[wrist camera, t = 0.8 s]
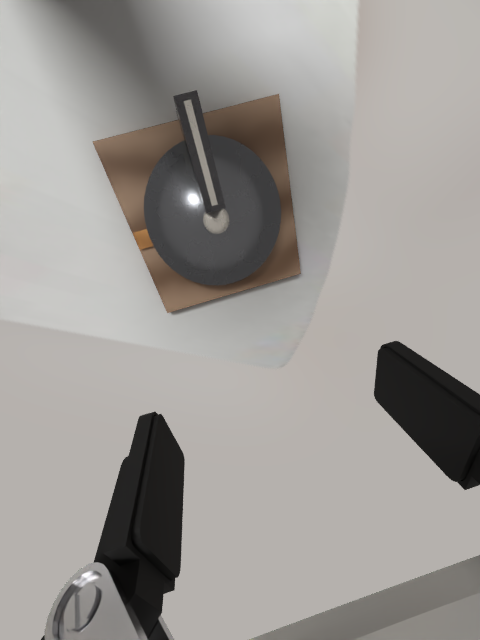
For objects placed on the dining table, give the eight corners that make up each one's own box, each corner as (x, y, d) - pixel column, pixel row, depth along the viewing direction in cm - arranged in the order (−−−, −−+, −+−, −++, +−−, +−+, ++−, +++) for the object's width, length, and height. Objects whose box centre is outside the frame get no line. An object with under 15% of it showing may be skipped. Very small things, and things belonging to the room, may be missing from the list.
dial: (110, 135, 23) (88, 116, 18) (261, 97, 24) (277, 69, 19) (175, 296, 31) (172, 312, 27) (286, 264, 32) (302, 274, 27)
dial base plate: (96, 144, 24) (91, 140, 23) (275, 98, 25) (279, 92, 24) (168, 310, 33) (167, 313, 32) (298, 272, 34) (301, 274, 33)
